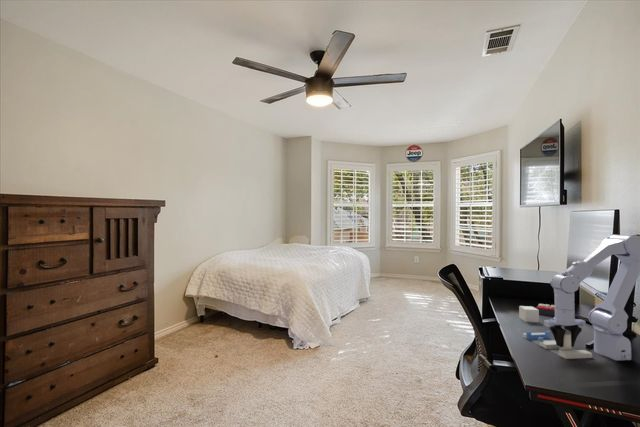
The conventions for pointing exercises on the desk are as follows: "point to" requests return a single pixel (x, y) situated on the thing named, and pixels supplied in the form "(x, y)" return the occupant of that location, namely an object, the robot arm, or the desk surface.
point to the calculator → (546, 309)
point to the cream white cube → (528, 314)
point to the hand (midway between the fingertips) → (565, 345)
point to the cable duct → (550, 345)
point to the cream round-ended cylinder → (566, 342)
